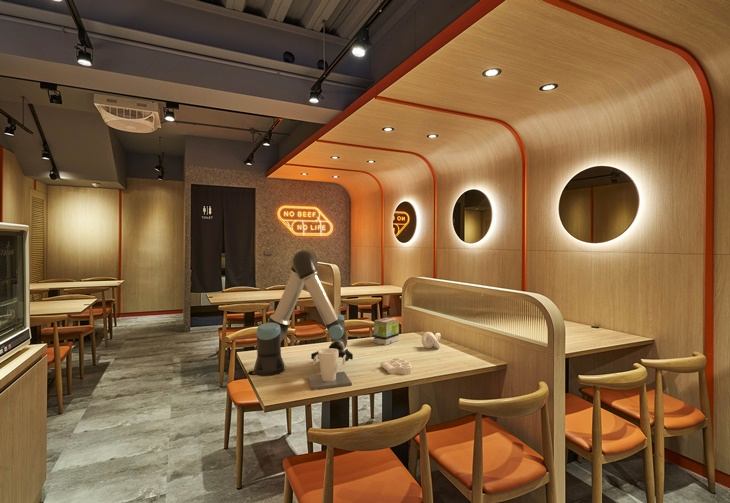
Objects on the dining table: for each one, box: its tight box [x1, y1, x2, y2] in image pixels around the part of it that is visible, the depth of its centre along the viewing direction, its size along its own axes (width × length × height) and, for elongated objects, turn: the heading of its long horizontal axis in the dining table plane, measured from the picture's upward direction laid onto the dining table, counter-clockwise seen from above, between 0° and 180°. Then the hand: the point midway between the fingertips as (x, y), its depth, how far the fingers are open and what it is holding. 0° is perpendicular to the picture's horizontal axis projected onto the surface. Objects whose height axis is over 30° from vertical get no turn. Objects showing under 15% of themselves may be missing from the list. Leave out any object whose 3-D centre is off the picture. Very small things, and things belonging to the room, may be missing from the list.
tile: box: [306, 371, 353, 391], centre depth 177 cm, size 18×16×1 cm
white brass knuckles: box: [379, 357, 414, 375], centre depth 194 cm, size 3×18×15 cm
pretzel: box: [421, 331, 441, 349], centre depth 233 cm, size 11×12×9 cm
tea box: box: [373, 316, 400, 346], centre depth 248 cm, size 15×10×15 cm, turn 143°
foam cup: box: [317, 347, 339, 381], centre depth 177 cm, size 10×9×13 cm
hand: (328, 361), depth 177 cm, fingers open, 13 cm apart
